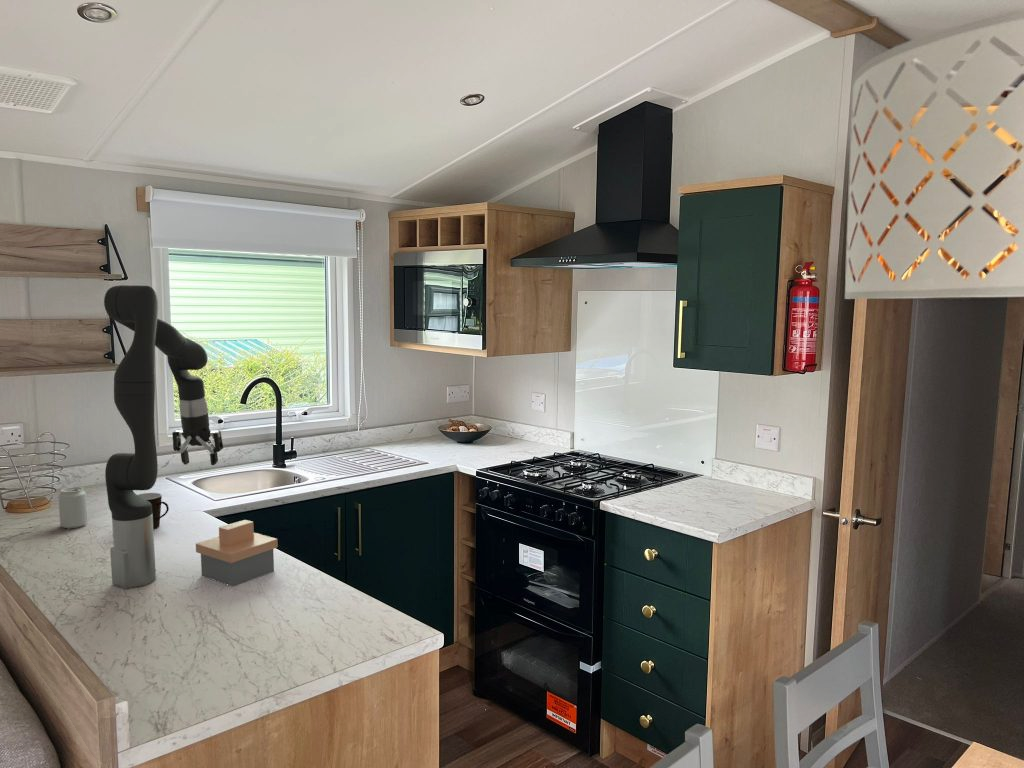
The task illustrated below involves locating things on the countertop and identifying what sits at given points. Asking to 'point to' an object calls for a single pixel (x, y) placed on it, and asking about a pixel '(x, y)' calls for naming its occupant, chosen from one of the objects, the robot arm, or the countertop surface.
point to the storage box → (237, 568)
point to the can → (72, 507)
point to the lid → (236, 543)
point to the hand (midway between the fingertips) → (200, 464)
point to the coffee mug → (155, 506)
